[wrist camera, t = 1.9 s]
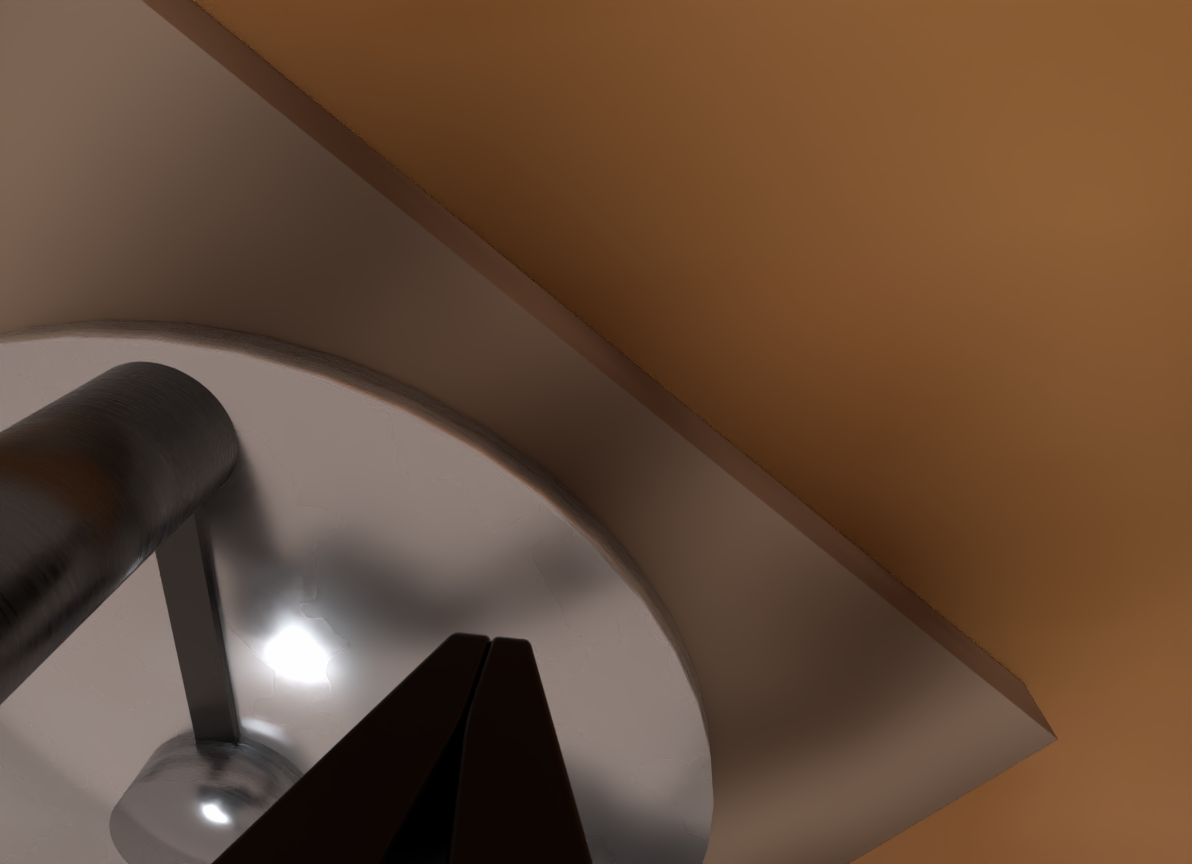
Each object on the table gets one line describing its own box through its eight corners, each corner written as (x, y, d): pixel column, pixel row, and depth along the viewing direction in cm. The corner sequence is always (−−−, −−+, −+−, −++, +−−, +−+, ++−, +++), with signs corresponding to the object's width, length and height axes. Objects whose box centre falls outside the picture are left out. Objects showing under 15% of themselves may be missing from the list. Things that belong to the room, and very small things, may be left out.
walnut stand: (1024, 683, 16) (1083, 781, 14) (419, 1069, 25) (398, 1166, 23) (-36, -187, 11) (-217, -253, 8) (-336, 712, 20) (-462, 796, 17)
